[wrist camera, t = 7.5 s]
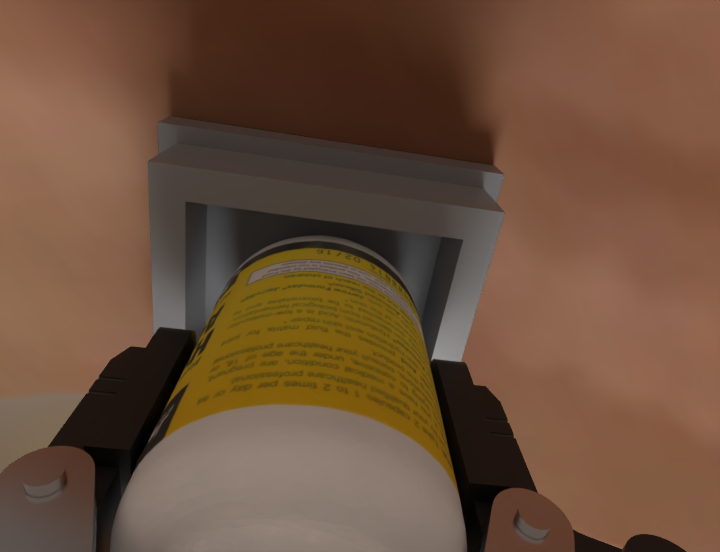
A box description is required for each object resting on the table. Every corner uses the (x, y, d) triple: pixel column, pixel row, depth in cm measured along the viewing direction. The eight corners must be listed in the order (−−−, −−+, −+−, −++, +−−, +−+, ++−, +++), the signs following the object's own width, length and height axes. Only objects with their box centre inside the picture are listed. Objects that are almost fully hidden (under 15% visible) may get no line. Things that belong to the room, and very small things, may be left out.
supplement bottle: (211, 224, 12) (-122, 694, 4) (425, 233, 13) (605, 693, 4) (226, 394, 15) (47, 927, 6) (406, 399, 15) (489, 918, 6)
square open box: (494, 165, 14) (529, 196, 11) (427, 409, 18) (441, 475, 15) (170, 116, 13) (125, 137, 11) (174, 382, 17) (141, 448, 14)
